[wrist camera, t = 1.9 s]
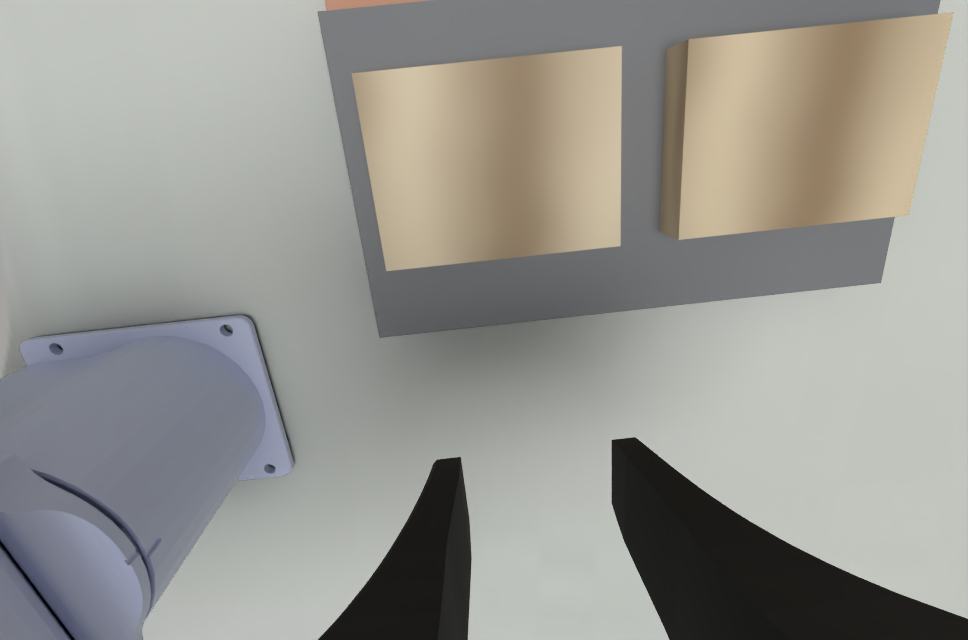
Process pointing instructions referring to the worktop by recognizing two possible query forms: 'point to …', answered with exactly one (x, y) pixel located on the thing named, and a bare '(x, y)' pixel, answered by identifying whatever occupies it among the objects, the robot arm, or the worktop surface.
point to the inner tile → (494, 156)
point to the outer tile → (797, 125)
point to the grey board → (644, 249)
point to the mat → (361, 3)
